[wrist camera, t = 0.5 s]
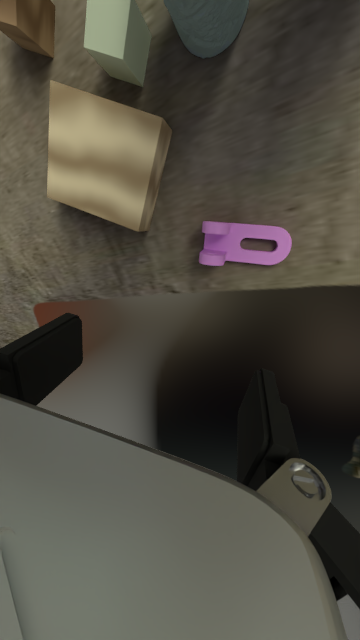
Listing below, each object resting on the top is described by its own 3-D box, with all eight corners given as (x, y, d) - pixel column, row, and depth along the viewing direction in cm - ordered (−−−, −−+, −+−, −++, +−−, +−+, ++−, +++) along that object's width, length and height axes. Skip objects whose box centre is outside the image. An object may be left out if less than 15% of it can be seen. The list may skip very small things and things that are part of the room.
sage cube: (116, 25, 29) (88, -19, 23) (151, 35, 28) (131, -7, 23) (110, 76, 31) (83, 47, 26) (143, 87, 31) (122, 59, 25)
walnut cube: (22, -4, 30) (-25, -52, 25) (55, 6, 29) (14, -41, 24) (23, 48, 32) (-20, 15, 27) (53, 58, 32) (16, 26, 26)
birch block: (75, 98, 33) (50, 80, 29) (173, 131, 32) (162, 117, 28) (68, 199, 40) (47, 196, 35) (149, 230, 39) (138, 231, 34)
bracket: (203, 256, 38) (196, 263, 32) (207, 221, 36) (200, 221, 29) (284, 265, 36) (293, 274, 29) (294, 227, 33) (306, 229, 27)
